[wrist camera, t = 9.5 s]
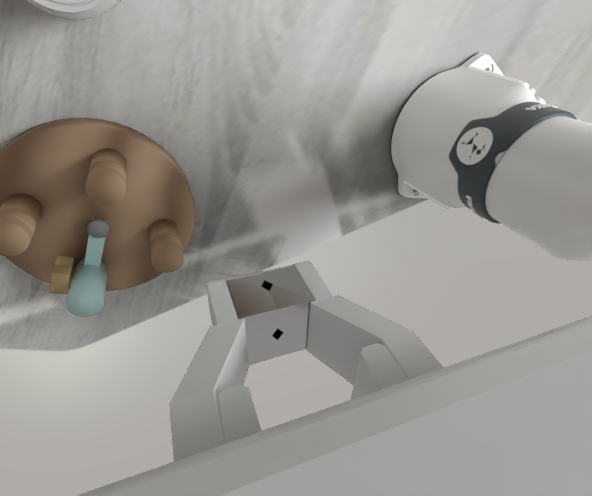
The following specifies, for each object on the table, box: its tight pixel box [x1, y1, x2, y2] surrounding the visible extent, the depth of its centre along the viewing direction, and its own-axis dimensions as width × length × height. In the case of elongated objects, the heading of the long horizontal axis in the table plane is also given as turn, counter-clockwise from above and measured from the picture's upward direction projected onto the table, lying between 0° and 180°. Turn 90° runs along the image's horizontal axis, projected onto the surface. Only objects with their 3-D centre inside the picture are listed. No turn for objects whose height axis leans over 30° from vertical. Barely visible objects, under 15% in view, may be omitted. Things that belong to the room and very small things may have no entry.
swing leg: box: [67, 218, 110, 316], centre depth 33 cm, size 8×3×5 cm, turn 155°
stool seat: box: [0, 118, 195, 294], centre depth 33 cm, size 18×18×8 cm
